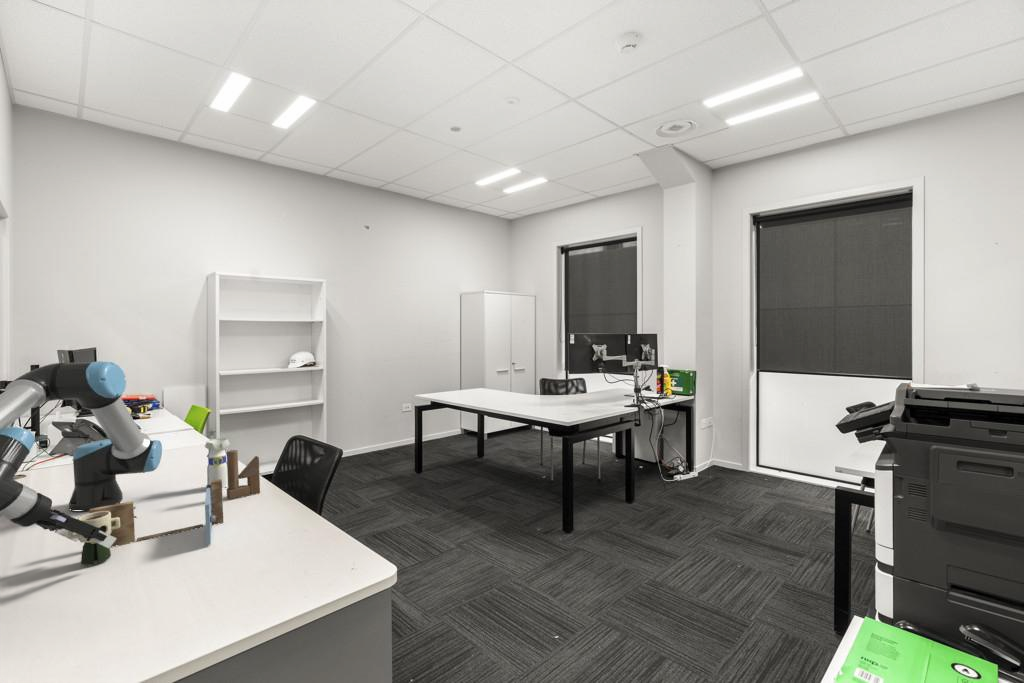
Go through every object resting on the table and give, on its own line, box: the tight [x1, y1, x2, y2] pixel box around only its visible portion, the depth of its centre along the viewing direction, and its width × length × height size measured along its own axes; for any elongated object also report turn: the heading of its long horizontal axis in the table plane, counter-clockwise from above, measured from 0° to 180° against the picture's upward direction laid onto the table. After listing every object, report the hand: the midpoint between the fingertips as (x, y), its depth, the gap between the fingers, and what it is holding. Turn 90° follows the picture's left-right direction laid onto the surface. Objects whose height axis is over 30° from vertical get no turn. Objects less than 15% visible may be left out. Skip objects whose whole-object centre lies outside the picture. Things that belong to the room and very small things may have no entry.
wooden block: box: [226, 449, 261, 500], centre depth 186 cm, size 4×11×18 cm, turn 134°
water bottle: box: [204, 428, 230, 489], centre depth 196 cm, size 8×9×25 cm
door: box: [204, 488, 215, 546], centre depth 150 cm, size 18×2×12 cm, turn 31°
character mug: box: [68, 511, 120, 566], centre depth 134 cm, size 11×7×13 cm, turn 130°
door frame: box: [88, 479, 224, 547], centre depth 151 cm, size 33×2×14 cm, turn 126°
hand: (95, 540), depth 134 cm, fingers open, 13 cm apart
